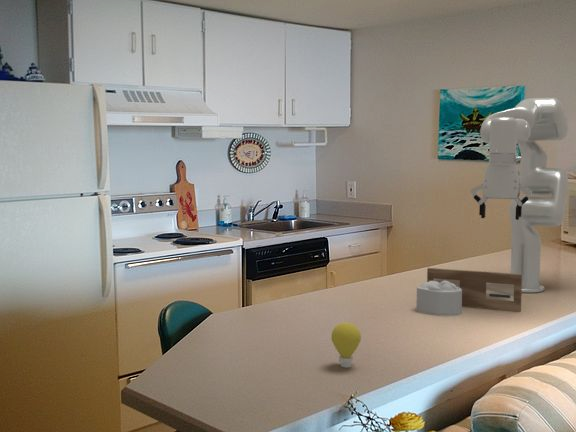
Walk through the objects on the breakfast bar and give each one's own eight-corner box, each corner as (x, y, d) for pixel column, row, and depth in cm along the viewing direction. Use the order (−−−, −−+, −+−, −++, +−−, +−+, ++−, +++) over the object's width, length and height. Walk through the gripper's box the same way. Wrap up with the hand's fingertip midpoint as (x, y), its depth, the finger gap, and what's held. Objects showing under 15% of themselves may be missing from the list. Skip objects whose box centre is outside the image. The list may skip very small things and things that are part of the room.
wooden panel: (427, 302, 219) (428, 267, 218) (520, 310, 207) (521, 274, 206) (426, 303, 217) (427, 268, 216) (520, 311, 206) (521, 275, 205)
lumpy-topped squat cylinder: (429, 304, 216) (429, 277, 215) (468, 311, 208) (468, 282, 207) (412, 311, 208) (412, 282, 207) (452, 318, 199) (453, 288, 199)
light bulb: (329, 361, 161) (329, 319, 160) (357, 360, 161) (358, 318, 160) (333, 371, 154) (333, 327, 153) (363, 370, 155) (363, 326, 154)
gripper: (534, 160, 202) (532, 219, 203) (474, 160, 209) (471, 216, 210) (532, 160, 195) (530, 220, 196) (469, 159, 202) (467, 218, 203)
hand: (500, 218), depth 203 cm, fingers open, 9 cm apart
